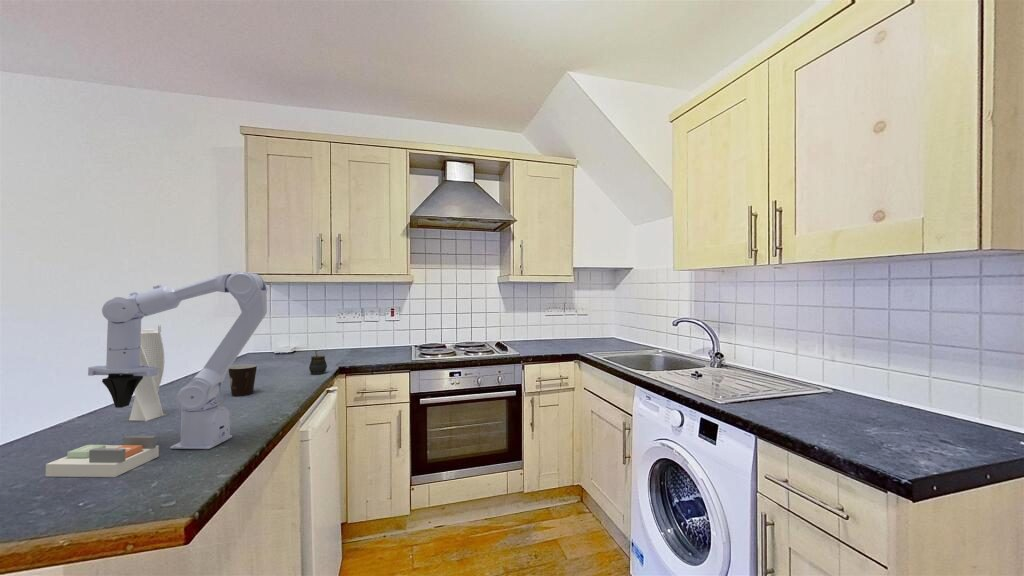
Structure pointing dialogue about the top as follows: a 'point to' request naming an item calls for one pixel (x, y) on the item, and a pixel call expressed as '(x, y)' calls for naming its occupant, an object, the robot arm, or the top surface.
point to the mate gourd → (318, 364)
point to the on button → (82, 452)
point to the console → (105, 460)
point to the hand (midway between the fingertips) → (122, 406)
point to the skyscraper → (149, 378)
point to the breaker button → (131, 450)
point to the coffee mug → (242, 379)
